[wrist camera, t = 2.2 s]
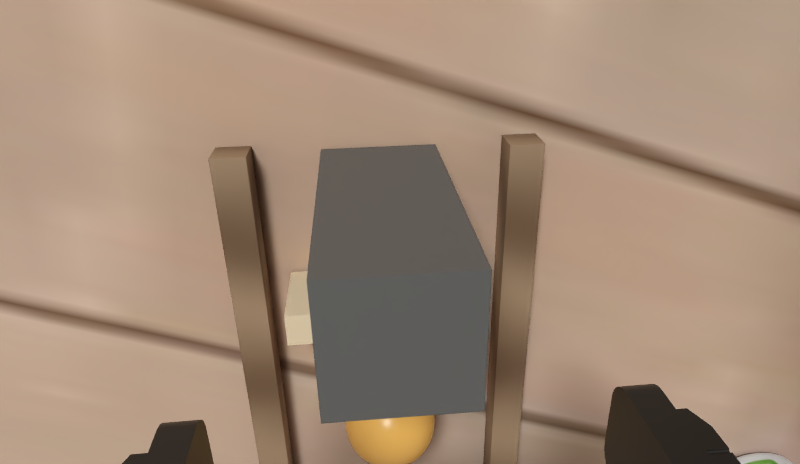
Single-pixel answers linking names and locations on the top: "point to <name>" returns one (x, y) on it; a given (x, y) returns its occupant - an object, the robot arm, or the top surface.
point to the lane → (508, 306)
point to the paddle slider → (392, 289)
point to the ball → (391, 438)
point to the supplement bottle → (763, 459)
